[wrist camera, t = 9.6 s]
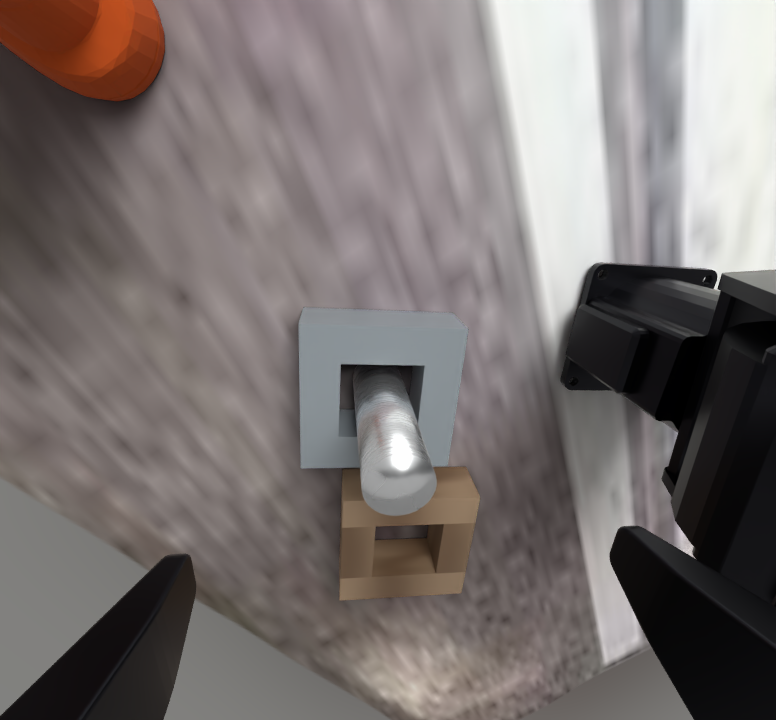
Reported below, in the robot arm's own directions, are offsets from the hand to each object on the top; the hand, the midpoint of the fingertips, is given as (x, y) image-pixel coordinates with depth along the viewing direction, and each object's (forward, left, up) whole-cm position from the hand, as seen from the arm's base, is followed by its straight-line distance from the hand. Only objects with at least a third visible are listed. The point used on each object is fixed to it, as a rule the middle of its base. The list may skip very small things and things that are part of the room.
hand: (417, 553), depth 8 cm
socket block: (-2, +11, -12) cm, 16 cm away
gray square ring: (0, +2, -12) cm, 12 cm away
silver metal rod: (0, +2, -12) cm, 12 cm away
